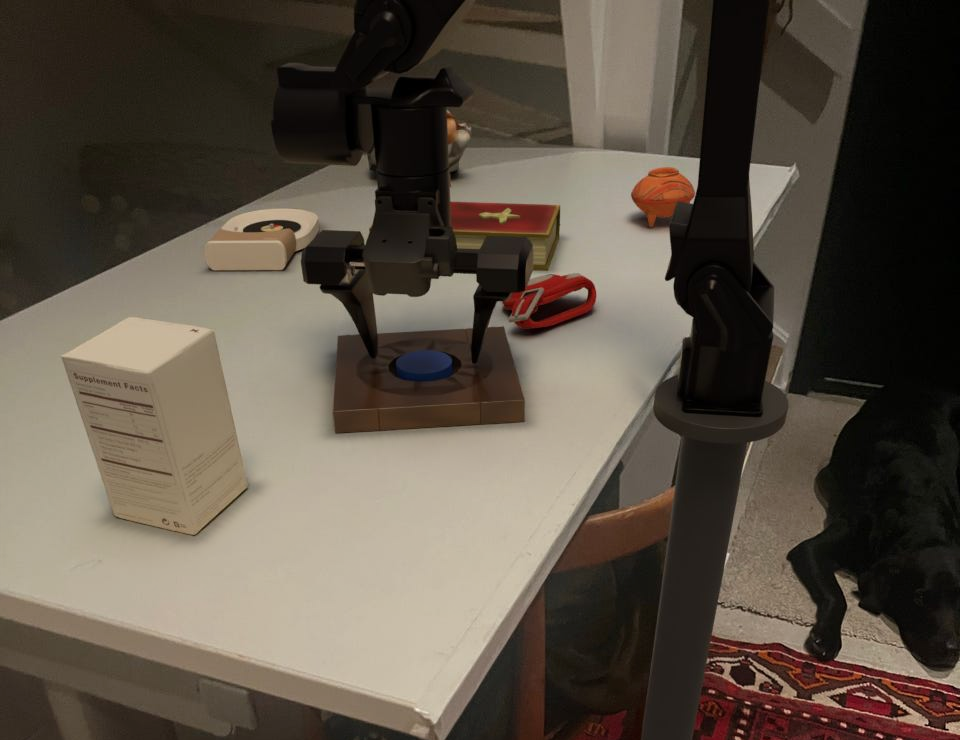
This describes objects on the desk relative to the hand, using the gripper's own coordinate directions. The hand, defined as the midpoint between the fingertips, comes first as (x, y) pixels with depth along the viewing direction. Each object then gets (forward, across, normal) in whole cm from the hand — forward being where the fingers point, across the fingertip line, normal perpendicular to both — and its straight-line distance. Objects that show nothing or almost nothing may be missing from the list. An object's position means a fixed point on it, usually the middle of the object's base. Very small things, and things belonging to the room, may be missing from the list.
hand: (424, 359), depth 82 cm
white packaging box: (+3, -14, -22) cm, 26 cm away
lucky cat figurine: (+3, -16, +70) cm, 72 cm away
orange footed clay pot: (+6, +6, +43) cm, 44 cm away
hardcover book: (+3, -3, +38) cm, 38 cm away
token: (+3, 0, 0) cm, 3 cm away
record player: (+3, -29, +38) cm, 47 cm away
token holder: (+3, 0, 0) cm, 3 cm away
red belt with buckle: (+3, +8, +18) cm, 20 cm away
